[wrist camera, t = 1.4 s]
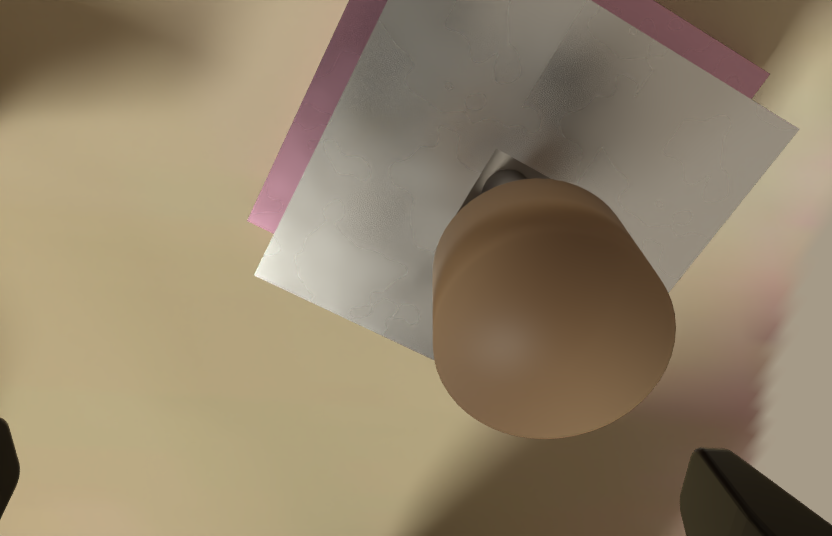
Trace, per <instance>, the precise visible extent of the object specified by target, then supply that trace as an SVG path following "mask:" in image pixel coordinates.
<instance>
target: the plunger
mask: <svg viewBox="0 0 832 536" xmlns="http://www.w3.org/2000/svg"><path fill="white" fill-rule="evenodd" d="M432 286H433V353H434V360H435V364H436V368H437V372H438V374H439V376H440V379H441V381H442V383H443V385H444V386H445V388H446V390H447V391H448V393H449V394H450V396H451V397H452V398H453V399H454V401H455V402H456V403H457V404H458V405H459V406H460V407H461V408H462V409H463V410H464V411H466V412H467V413H468V414H469V415H471V416H472V417H473V418H475V419H476V420H478V421H479V422H481V423H483V424H485V425H487V426H489V427H491V428H493V429H496V430H498V431H501V432H504V433H507V434H511V435H515V436H520V437H526V438H536V439H554V438H564V437H571V436H576V435H580V434H584V433H587V432H591V431H593V430H596V429H599V428H601V427H604V426H606V425H608V424H610V423H612V422H614V421H616V420H618V419H619V418H621V417H622V416H624V415H625V414H627V413H628V412H630V411H631V410H632V409H633V408H635V407H636V406H637V405H638V404H639V403H641V402H642V401H643V400H644V399H645V398H646V396H647V395H648V394H649V393H650V392H651V391H652V390H653V388H654V387H655V386H656V384H657V383H658V382H659V380H660V379H661V377H662V375H663V373H664V372H665V370H666V368H667V365H668V363H669V360H670V358H671V355H672V351H673V347H674V343H675V332H676V324H675V313H674V309H673V305H672V301H671V299H670V296H669V294H668V291H667V289H666V287H665V286H664V284H663V282H662V281H661V279H660V277H659V276H658V274H657V273H656V272H655V270H654V269H653V267H652V266H651V264H650V263H649V261H648V260H647V259H646V257H645V256H644V254H643V253H642V251H641V250H640V248H639V247H638V246H637V244H636V243H635V241H634V240H633V238H632V237H631V235H630V234H629V233H628V231H627V230H626V228H625V227H624V225H623V224H622V222H621V221H620V220H619V218H618V217H617V215H616V214H615V213H614V212H613V211H612V209H611V208H610V207H609V206H608V205H607V204H606V203H605V202H603V201H602V200H601V199H600V198H599V197H597V196H596V195H594V194H593V193H591V192H589V191H588V190H586V189H583V188H581V187H579V186H577V185H574V184H571V183H568V182H564V181H559V180H553V179H551V178H549V177H547V176H546V175H544V174H542V173H540V172H538V171H536V170H535V169H533V168H531V167H529V166H527V165H526V164H524V163H522V162H520V161H518V160H516V159H515V158H513V157H511V156H509V155H507V154H506V153H504V152H502V151H500V150H498V149H496V150H495V151H494V153H493V155H492V156H491V158H490V160H489V161H488V163H487V164H486V166H485V168H484V169H483V171H482V173H481V174H480V176H479V178H478V179H477V181H476V183H475V184H474V186H473V188H472V189H471V191H470V192H469V194H468V196H467V197H466V199H465V201H464V202H463V204H462V206H461V207H460V209H459V211H458V212H457V214H456V215H455V216H454V218H453V219H452V220H451V221H450V223H449V224H448V226H447V227H446V229H445V230H444V232H443V234H442V236H441V238H440V240H439V243H438V246H437V249H436V251H435V256H434V261H433V274H432Z"/></svg>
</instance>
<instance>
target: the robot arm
mask: <svg viewBox="0 0 832 536" xmlns="http://www.w3.org/2000/svg"><path fill="white" fill-rule="evenodd" d="M19 474H20V465H19V461H18V457H17V454H16V450H15V447H14V443H13V439H12V436H11V432H10V429H9V426H8V423H7V422H6V421H5V420H4V419H3V418H0V519H1V517H2V515H3V513H4V511H5V509H6V506H7V504H8V502H9V500H10V498H11V496H12V494H13V492H14V490H15V488H16V485H17V483H18V479H19ZM680 511H681V516H682V520H683V524H684V528H685V532H686V536H832V525H831V524H830V523H828V522H827V521H825V520H824V519H823V518H821V517H820V516H819V515H817V514H816V513H814V512H813V511H812V510H810V509H809V508H808V507H806V506H805V505H804V504H802V503H801V502H800V501H798V500H797V499H796V498H794V497H793V496H791V495H790V494H789V493H787V492H786V491H785V490H783V489H782V488H781V487H779V486H778V485H777V484H775V483H774V482H773V481H771V480H770V479H768V478H767V477H766V476H764V475H763V474H762V473H760V472H759V471H758V470H756V469H755V468H754V467H752V466H751V465H749V464H748V463H747V462H745V461H744V460H743V459H741V458H740V457H739V456H737V455H736V454H735V453H733V452H731V451H730V450H728V449H723V448H698V449H696V450H694V452H693V453H692V455H691V458H690V462H689V465H688V469H687V472H686V476H685V480H684V483H683V487H682V490H681V495H680Z"/></svg>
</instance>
